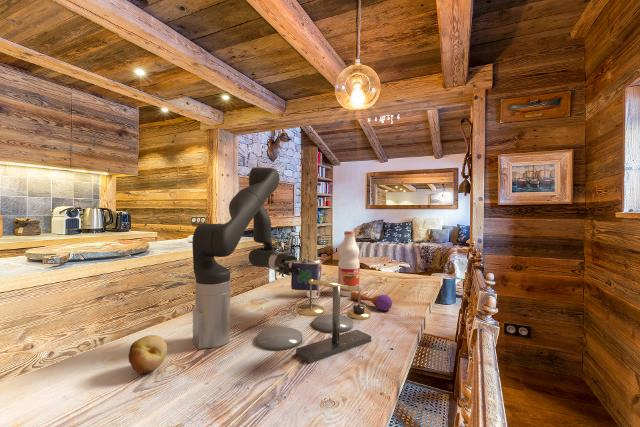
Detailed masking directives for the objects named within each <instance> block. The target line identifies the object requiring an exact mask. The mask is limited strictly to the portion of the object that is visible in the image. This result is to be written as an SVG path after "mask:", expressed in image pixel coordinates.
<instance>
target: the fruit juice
mask: <svg viewBox="0 0 640 427" xmlns="http://www.w3.org/2000/svg"><path fill="white" fill-rule="evenodd" d="M343 233H344V234H343V235H344V238H343V242H342V243H341V245H340V247H339V248H338V255H339V260H338V264H337V265H338V266H337V267H338V272H337V273H338V274H337V275H338V277H337V284H342V285H348V286H353V287H359V288H360V268H361V266H360V260H359V259H360V258H359V256H360V254H361V252H360V248H359V246H358V245H357V244H358V243H357V242H356V238H355V236H356V232H355V231H354V230H353V231H352V230H345V231H344V232H343ZM352 292H357V291H351V290H345V289H340V296H342V297H347V298H348V297H350V298H351V293H352ZM357 293H358V292H357Z"/></svg>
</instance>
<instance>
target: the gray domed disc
mask: <svg viewBox="0 0 640 427" xmlns="http://www.w3.org/2000/svg"><path fill="white" fill-rule="evenodd" d="M302 342H303V333H302V332H301V331H300V330H298V329H296V328H293V327H289V326H276V327H269V328H266V329H263V330H262V331H260V332H259V333H257V335H256V343H257V345H258V346H259V347H260V348H262V349H266V350H270V351H286V350H291V349H293V348H297V347H298V346H299V345H301V344H302Z"/></svg>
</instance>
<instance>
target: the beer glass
mask: <svg viewBox="0 0 640 427" xmlns="http://www.w3.org/2000/svg"><path fill="white" fill-rule="evenodd" d="M310 261H312V262H317V263H319V267H320V272H319V281H322V276H323V275H322V274H323V265H322V264H323V262H322V261H321V260H310ZM320 287H321V286H320V285H319V289H318V290H314V291H313V290H312V299H319V298H320V297H321V288H320ZM306 291H307V292H306V296H305V297H307V298H309V299H310V290H306Z"/></svg>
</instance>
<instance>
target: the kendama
mask: <svg viewBox="0 0 640 427" xmlns="http://www.w3.org/2000/svg"><path fill="white" fill-rule="evenodd" d="M350 299H351V300H357V301H358V293H357V292H352V293H351V297H350ZM360 301H367V302H371V303H372V304H373V305H374V306H375V307H376V308H378V309H379V310H380V311H382V312H386V311H389V310H391V308H392V306H393V300H392V298H391V297H390V296H389V295H387V294H380V295H375V296H373V297H369V296H366V295H365V294H362V293H360Z"/></svg>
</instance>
